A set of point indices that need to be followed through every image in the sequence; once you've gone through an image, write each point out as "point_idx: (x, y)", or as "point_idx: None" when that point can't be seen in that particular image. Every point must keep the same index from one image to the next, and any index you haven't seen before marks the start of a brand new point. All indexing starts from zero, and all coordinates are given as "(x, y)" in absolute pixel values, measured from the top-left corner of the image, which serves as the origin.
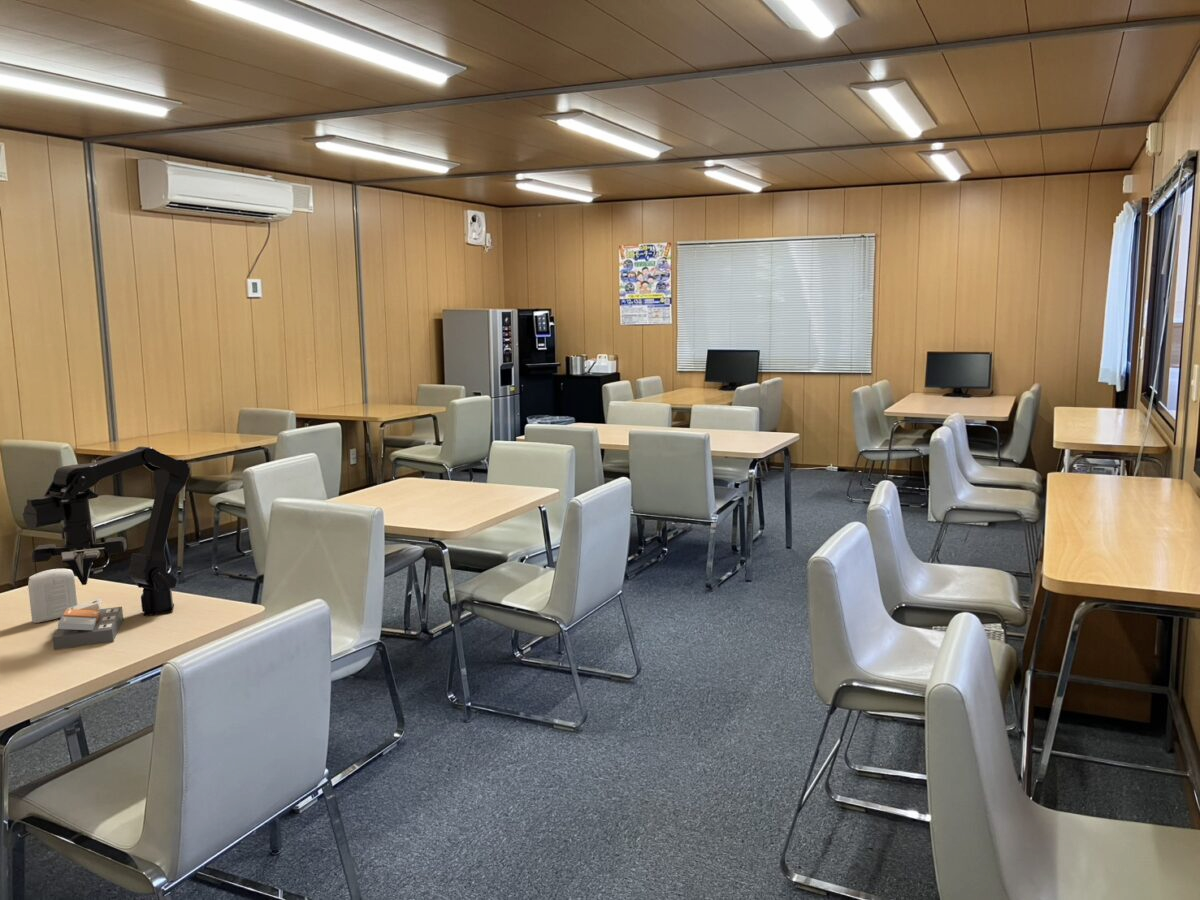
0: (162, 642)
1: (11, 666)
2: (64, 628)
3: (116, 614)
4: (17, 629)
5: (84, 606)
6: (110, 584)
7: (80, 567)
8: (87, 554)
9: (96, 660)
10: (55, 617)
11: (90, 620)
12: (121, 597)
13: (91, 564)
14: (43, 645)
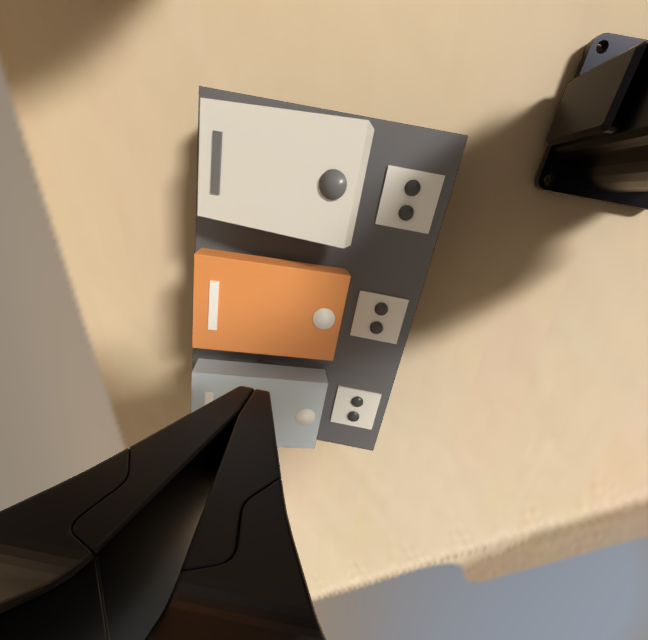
0: (488, 499)
1: (127, 444)
2: None
3: (416, 276)
4: (15, 18)
5: (278, 207)
6: None
7: (149, 579)
8: None
9: (318, 518)
10: None
11: (305, 415)
12: None
13: (290, 557)
14: (173, 323)
